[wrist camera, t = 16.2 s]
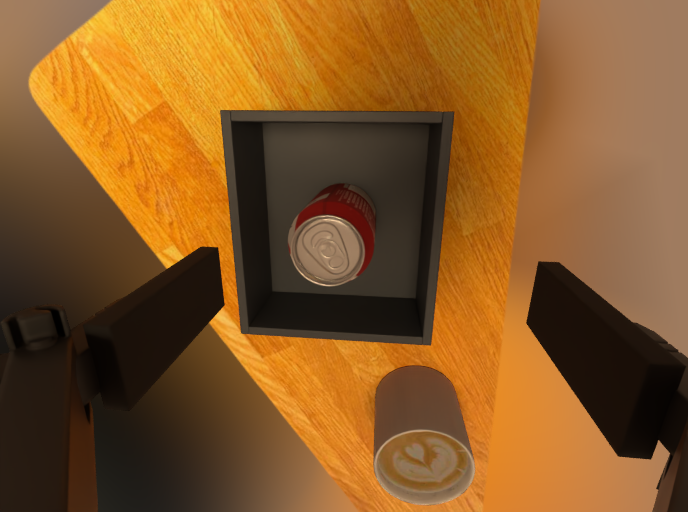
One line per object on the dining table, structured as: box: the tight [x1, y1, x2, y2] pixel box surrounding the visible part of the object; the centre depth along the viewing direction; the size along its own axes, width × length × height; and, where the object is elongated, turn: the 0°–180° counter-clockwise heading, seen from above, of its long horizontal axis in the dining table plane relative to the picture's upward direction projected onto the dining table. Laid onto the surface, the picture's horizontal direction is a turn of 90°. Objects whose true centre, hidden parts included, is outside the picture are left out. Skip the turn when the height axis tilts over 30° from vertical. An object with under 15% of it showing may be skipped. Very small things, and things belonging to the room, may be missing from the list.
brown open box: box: [220, 110, 454, 345], centre depth 35 cm, size 18×20×9 cm
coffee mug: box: [374, 366, 475, 505], centre depth 42 cm, size 13×10×10 cm
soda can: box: [288, 183, 376, 286], centre depth 33 cm, size 7×7×12 cm
